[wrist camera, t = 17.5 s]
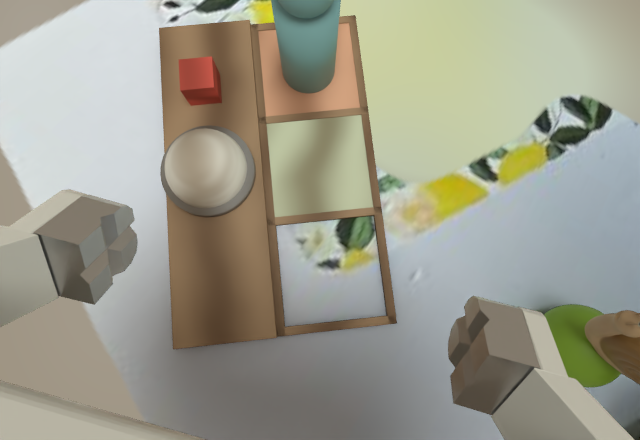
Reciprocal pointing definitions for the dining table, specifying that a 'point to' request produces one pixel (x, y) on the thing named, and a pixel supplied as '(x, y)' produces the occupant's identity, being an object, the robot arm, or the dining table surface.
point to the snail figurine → (596, 343)
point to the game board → (256, 175)
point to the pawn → (307, 41)
